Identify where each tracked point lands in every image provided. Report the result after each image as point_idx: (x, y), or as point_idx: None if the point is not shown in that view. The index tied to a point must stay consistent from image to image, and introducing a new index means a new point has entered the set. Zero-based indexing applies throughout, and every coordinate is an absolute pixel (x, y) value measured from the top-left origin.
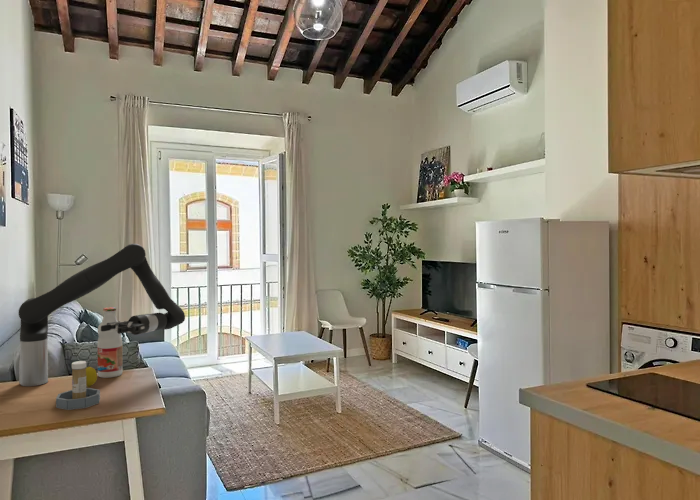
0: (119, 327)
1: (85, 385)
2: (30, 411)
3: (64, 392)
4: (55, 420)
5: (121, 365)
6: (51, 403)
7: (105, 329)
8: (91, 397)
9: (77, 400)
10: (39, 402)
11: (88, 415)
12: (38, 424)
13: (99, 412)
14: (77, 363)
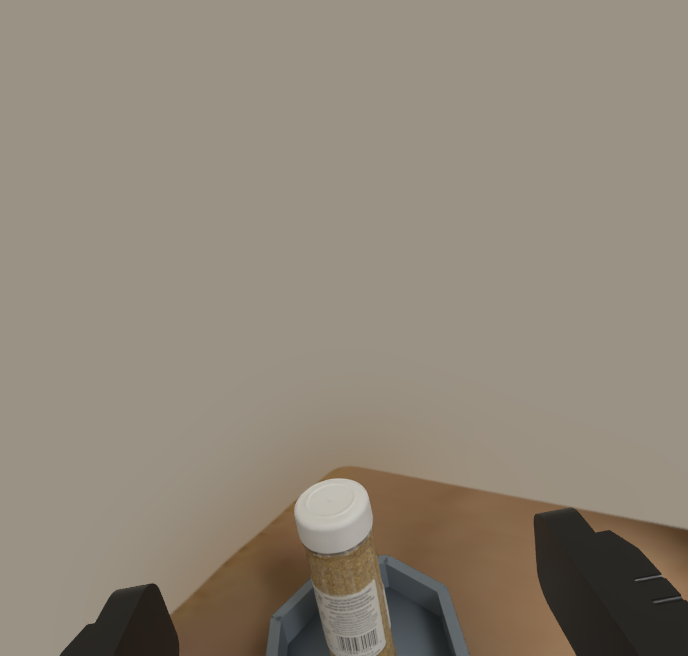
0: (126, 605)
1: (321, 621)
2: (428, 527)
3: (446, 610)
4: (276, 535)
5: None
6: (470, 601)
7: (575, 631)
8: (266, 653)
9: (296, 597)
10: (525, 580)
11: (203, 610)
12: (294, 504)
13: (180, 653)
14: (315, 487)
